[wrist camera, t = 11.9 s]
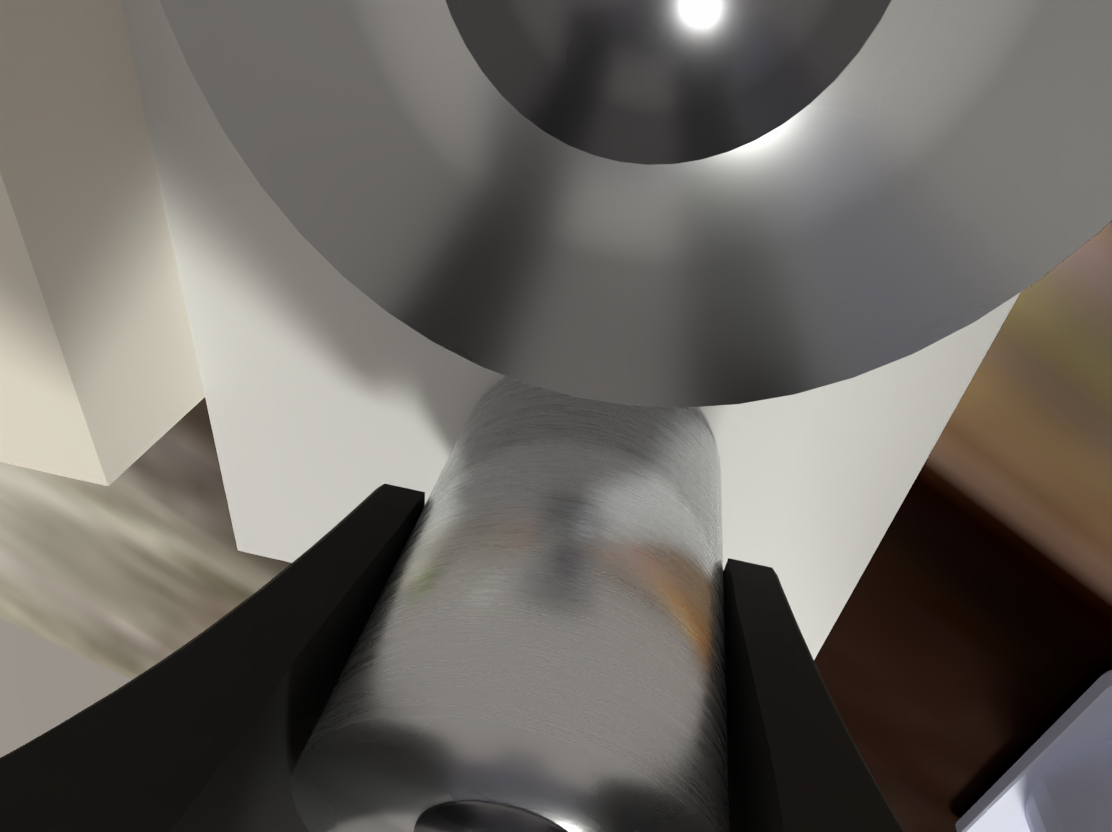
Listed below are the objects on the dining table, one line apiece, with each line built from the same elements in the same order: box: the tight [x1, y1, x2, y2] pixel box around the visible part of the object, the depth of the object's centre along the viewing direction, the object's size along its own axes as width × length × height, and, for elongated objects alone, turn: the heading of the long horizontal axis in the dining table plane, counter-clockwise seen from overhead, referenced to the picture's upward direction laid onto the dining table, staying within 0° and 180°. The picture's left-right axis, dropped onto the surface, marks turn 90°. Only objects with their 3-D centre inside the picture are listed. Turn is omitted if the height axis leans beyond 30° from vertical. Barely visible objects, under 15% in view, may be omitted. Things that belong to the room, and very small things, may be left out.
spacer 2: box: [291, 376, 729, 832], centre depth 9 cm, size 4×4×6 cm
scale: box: [0, 0, 1020, 660], centre depth 10 cm, size 15×18×5 cm
